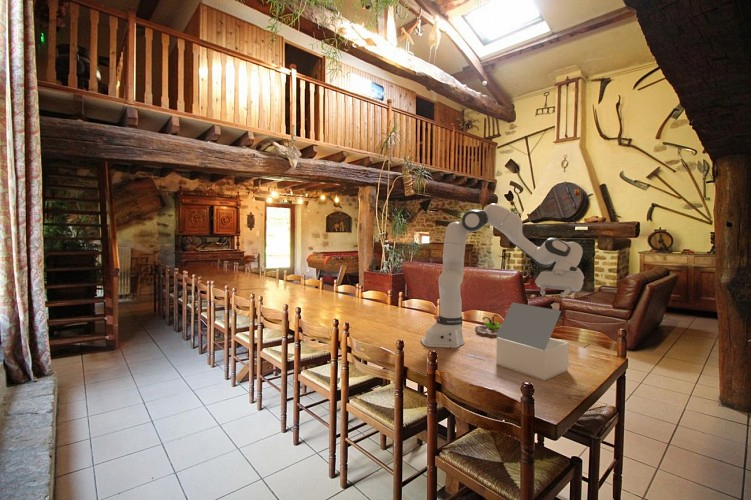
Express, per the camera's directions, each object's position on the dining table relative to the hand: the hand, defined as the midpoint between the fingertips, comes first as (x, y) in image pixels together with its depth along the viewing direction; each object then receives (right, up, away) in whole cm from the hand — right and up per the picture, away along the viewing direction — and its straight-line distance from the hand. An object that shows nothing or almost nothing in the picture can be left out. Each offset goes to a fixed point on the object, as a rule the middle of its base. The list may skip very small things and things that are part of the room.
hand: (551, 295), depth 161 cm
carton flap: (-15, -11, -10) cm, 22 cm away
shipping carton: (-13, -30, -7) cm, 34 cm away
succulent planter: (-11, -28, +46) cm, 55 cm away
